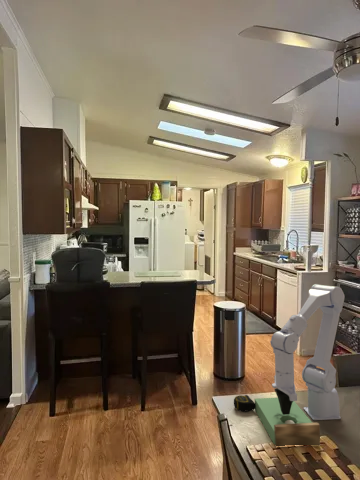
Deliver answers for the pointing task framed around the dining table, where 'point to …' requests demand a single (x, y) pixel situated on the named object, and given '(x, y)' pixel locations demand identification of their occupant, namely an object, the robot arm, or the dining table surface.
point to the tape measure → (244, 403)
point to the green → (278, 415)
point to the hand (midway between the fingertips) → (285, 413)
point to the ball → (289, 422)
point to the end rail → (297, 433)
